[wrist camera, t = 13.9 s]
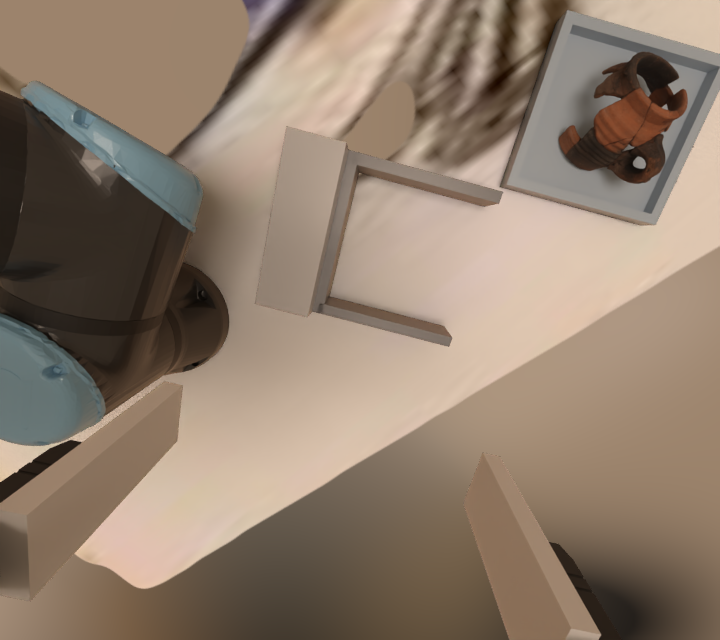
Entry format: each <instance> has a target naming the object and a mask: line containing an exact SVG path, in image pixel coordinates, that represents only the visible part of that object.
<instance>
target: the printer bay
mask: <svg viewBox="0 0 720 640" xmlns="http://www.w3.org/2000/svg"><path fill="white" fill-rule="evenodd" d="M359 173H362V174H366V175H370V176H373V177H377V178H381V179H384V180H388V181H392V182H396V183H399V184H403V185H407V186H410V187H414V188H418V189H421V190H425V191H429V192H432V193H436V194H440V195H443V196H447V197H451V198H454V199H458V200H462V201H466V202H469V203H473V204H477V205H480V206H484V207H485V206H490V205H494V204H499V202H500V199H501V197H502V194H503V192H502V191H498V190H494V189H491V188H487V187H483V186H480V185H476V184H472V183H469V182H465V181H461V180H458V179H454V178H450V177H447V176H443V175H439V174H436V173H432V172H428V171H425V170H421V169H417V168H414V167H410V166H406V165H403V164H399V163H395V162H392V161H388V160H384V159H380V158H377V157H373V156H369V155H366V154H362V153H359V152H355V151H351V150H349V149H348V146H347V143H346V142H343V141H339V140H335V139H332V138H328V137H324V136H321V135H317V134H313V133H310V132H306V131H302V130H299V129H295V128H291V127H288V126H286V132H285V137H284V143H283V149H282V154H281V160H280V165H279V171H278V177H277V182H276V188H275V194H274V199H273V205H272V210H271V216H270V222H269V227H268V233H267V239H266V244H265V250H264V255H263V261H262V267H261V272H260V278H259V284H258V289H257V295H256V300H255V304H257V305H261V306H265V307H269V308H273V309H277V310H280V311H284V312H288V313H292V314H296V315H300V316H304V317H308V316H309V315H310V314H311V312H312V311H313V312H317V313H321V314H325V315H329V316H332V317H336V318H340V319H344V320H348V321H352V322H356V323H359V324H363V325H367V326H371V327H375V328H379V329H383V330H386V331H390V332H394V333H398V334H402V335H406V336H410V337H413V338H417V339H421V340H425V341H429V342H433V343H437V344H440V345H444V346H448V347H449V346H450V343H451V340H452V337H451V335H450V334H449V332H448V331H447V330H446V328H445V327H444V326H441V325H437V324H433V323H429V322H426V321H422V320H418V319H414V318H410V317H406V316H403V315H399V314H395V313H391V312H387V311H383V310H380V309H376V308H372V307H368V306H364V305H361V304H357V303H353V302H349V301H345V300H341V299H338V298H334V297H330V293H331V288H332V284H333V280H334V276H335V271H336V267H337V263H338V259H339V255H340V250H341V246H342V242H343V238H344V234H345V229H346V225H347V221H348V217H349V212H350V208H351V204H352V200H353V196H354V191H355V187H356V183H357V179H358V175H359Z"/></svg>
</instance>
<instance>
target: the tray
mask: <svg viewBox="0 0 720 640" xmlns="http://www.w3.org/2000/svg"><path fill="white" fill-rule="evenodd" d="M639 52H650V53H653V54H655V55H658V56H660V57H662V58H663V59H665V60H666V61H668V62H669V63H670V64H671V65H672V66H673V68H674V69H675V70H676V71H677V73H678V75H679V79H677V80H675V81H674V82H672V83H670V84H668V86H669V87H670V89H671V90H672V92H673V94H676V93H677V92H678V91H680V90H681V89H685V90H686V92H687V97H688V104H687V109H686V111H685V112H684V114H683V115H682V116H681V117H679V118H678V119H675V120H674V121H673V122H672V124H671V126H670V127H669V129H668V130H667V132H664V131H663V132H662V133H661V134H663V135H664V138H663V141H662V144H663V148H664V151H665V164H664V166H663V168H662V170H661V171H660V173H659V174H658V175H656V176H654V177H652V178H651V180H650V181H648V182H646V183H641V184H633V183H628V182H626V181H624V180H622V179H620V178H619V177H618V176H616V175H615V173H614V172H613V171H611V170H608V169H607V167H603V168H599V169H595V170H592V171H588V170H584V169H580V168H578V167H576V166H575V165H574V164H572V163H571V161H570V160H569V159H568V158H567V157H566V155H565V154H564V152H563V151H562V149H561V146H560V144H559V137H560V136H561V135H562V134H563V133H564V132H565V131H566V129H567V128H568V127H569V126H571V125H574V126H575V128H576V131H577V133H578V135H579V136H580V138H581V139H582V138H583V137H584V136H585V135H586V134H587V133H588V131H589V130H590V129H591V128H593V127H594V118H595V116H596V114H597V113H598V112H599V111H600V110H601V109H603V108H605V107H607V106H609V105H611V104H613V103H615V102H616V101H619V100H621V98H617V97H615V96H605V95H604V96H602V97H600V98H597V99H595V98H594V93H595V89H596V87H597V86H598V85H600V84H601V83H603V82H604V80H605V79H606V78H607V77H608V76H610V75H611V74H612V73H608V74H605V75H603V74H602V72H603V71H604V70H606V69H608V68H609V67H611V66H614V65H617V64H620V63H623V62H629V61H630V60H631V58H632V57H633V56H634V55H636V54H637V53H639ZM637 78H638V81H639V84H640V87H641V88H642V89H643V91H644V93H645V94H646V95H647V96H648V97H649V95H650V94H651V93H650V91H649V89H648V87H647V84H646V82H645V80H644V79H643V77H641V76H640V75H638V74H637ZM719 90H720V54H718V53H714V52H711V51H708V50H704V49H701V48H697V47H694V46H690V45H687V44H683V43H680V42H676V41H673V40H669V39H666V38H663V37H659V36H656V35H652V34H649V33H645V32H642V31H638V30H635V29H631V28H628V27H624V26H621V25H618V24H614V23H611V22H607V21H604V20H600V19H597V18H593V17H590V16H586V15H583V14H579V13H576V12H573V11H569V10H567V11H566V12H565V14H564V15H563V16H562V17H561V18H560V19H559V20H558V22H557V23H556V25H555V28H554V31H553V34H552V37H551V40H550V43H549V46H548V48H547V51H546V54H545V57H544V60H543V63H542V66H541V69H540V72H539V75H538V77H537V80H536V83H535V86H534V89H533V92H532V95H531V98H530V101H529V104H528V106H527V109H526V112H525V115H524V118H523V121H522V124H521V127H520V130H519V133H518V135H517V138H516V141H515V144H514V147H513V150H512V153H511V156H510V159H509V162H508V165H507V167H506V170H505V173H504V176H503V179H502V182H501V185H500V187H502V188H506V189H510V190H513V191H517V192H521V193H524V194H528V195H532V196H535V197H539V198H543V199H546V200H550V201H554V202H557V203H561V204H565V205H568V206H572V207H576V208H579V209H583V210H587V211H590V212H594V213H598V214H601V215H605V216H609V217H612V218H616V219H620V220H623V221H627V222H630V223H634V224H638V225H656V223H657V221H658V219H659V217H660V215H661V212H662V210H663V208H664V206H665V204H666V202H667V200H668V198H669V196H670V193H671V191H672V189H673V187H674V185H675V183H676V181H677V179H678V177H679V174H680V172H681V170H682V168H683V166H684V164H685V162H686V160H687V158H688V155H689V153H690V151H691V149H692V147H693V145H694V143H695V141H696V139H697V136H698V134H699V132H700V130H701V128H702V126H703V124H704V122H705V120H706V117H707V115H708V113H709V111H710V109H711V107H712V105H713V103H714V101H715V98H716V96H717V94H718V92H719ZM662 108H663V109H666V110H668V108H667V104H666V105H664V106H663V107H662ZM633 148H634V147H632V146H630V145H628V146H627V147H626V148H625V149H624V150H623V151H626V150H629V149H633ZM623 151H622V152H623ZM633 166H634V167H636V168H640V169H643V168H645V166H646V163H645V160H644V159H643V158H642V157H639V156H638V157H637V158H636V159H635V160H634V161H633Z"/></svg>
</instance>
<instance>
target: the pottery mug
mask: <svg viewBox="0 0 720 640" xmlns="http://www.w3.org/2000/svg"><path fill="white" fill-rule="evenodd" d="M608 73H612V74H611V75H610V76H608V77H607V78H606V79H605V80H604V82H603V83H601V84H600V85H598V86H597V87H596V89H595V93H594V98H595V99H597V98H600V97H602V96H604V95H605V96H615V97H617V98H621V100H619V101H616V102H615V103H613V104H611V105H609V106H607V107H605V108H603V109H601V110H600V111H599V112H598V113H597V114H596V116H595V118H594V127H593V128H591V129H590V130H589V131H588V133H587V134H586V135H585V136H584V137H583V138H582V139H581V138H580V136H579V135H578V133H577V131H576V128H575V126H574V125H571V126H569V127H568V128H567V129H566V131H565V132H564V133H563V134H562V135H561V136H560V137H559V144H560V146H561V149H562V151H563V152H564V154H565V155H566V157H567V158H568V159H569V160H570V161H571V163H572V164H574V165H575V166H576V167H578V168H580V169H584V170H588V171H592V170H595V169H599V168H603V167H607V169H608V170H611V171H613V172H614V173H615V175H616V176H618V177H619V178H620V179H622V180H624V181H626V182H628V183H633V184H641V183H646V182H648V181H650V180H651V178H652V177H654V176H656V175H658V174H659V173H660V171H661V170H662V168H663V166H664V164H665V151H664V148H663V144H662V141H663V138H664V135H663V134H661V133H662V132H663V131H664V132H667V130H668V129H669V127H670V126H671V124H672V122H673V121H674V120H675V119H678V118H679V117H681V116H682V115H683V114H684V112H685V111H686V109H687V104H688V97H687V92H686V90H685V89H681V90H680V91H678V92H677V93H676V94H673V92H672V90H671V89H670V87H669V86H668V84H670V83H672V82H674V81H675V80H677V79H679V75H678V73H677V71H676V70H675V69H674V68H673V66H672V65H671V64H670V63H669V62H668V61H666V60H665V59H663V58H662V57H660V56H658V55H655V54H653V53H650V52H639V53H637V54H636V55H634V56H633V57H632V58H631V60H630V61H629V62H623V63H620V64H617V65H614V66H611V67H609V68H608V69H606V70H604V71H603V72H602V74H603V75H605V74H608ZM637 74H638V75H640V76H641V77H643V79H644V80H645V82H646V84H647V87H648V89H649V91H650V93H651V94H650V95H649V97H648V96H647V95H646V94H645V93H644V91H643V89H642V88H641V87H640V84H639V81H638V78H637ZM666 104H667V108H668V110H666V109H663V108H662V107H663V106H664V105H666ZM628 145H630V146H632V147H634V148H633V149H629V150H626V151H623V150H624V149H625V148H626V147H627V146H628ZM622 151H623V152H622ZM638 156H639V157H642V158H643V159H644V160H645V163H646V166H645V168H643V169H640V168H636V167H634V166H633V161H634V160H635V159H636V158H637V157H638Z"/></svg>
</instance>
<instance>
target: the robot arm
mask: <svg viewBox="0 0 720 640" xmlns="http://www.w3.org/2000/svg"><path fill="white" fill-rule="evenodd" d="M21 95H22V96H23V97H24V99H20V98H17V97H14V96H12V95H10V94H7V93H5V92H3V91H0V439H1V440H4V441H7V442H11V443H15V444H20V445H28V446H44V445H49V444H51V443H58V442H61V441H64V440H66V439H68V438H70V437H72V436H74V435H76V434H77V433H79V432H81V431H83V430H85V429H87V428H88V427H91V426H94V425H95V424H97V423H98V422H100V421H101V419H103V417H104V416H105V415H107V414H108V413H110V412H111V411H113V410H114V409H115V408H117V407H118V406H120V405H121V404H123V403H124V402H126V401H127V400H128V399H130V398H131V397H133V396H134V395H136V394H137V393H139V392H140V391H141V390H143V389H144V388H146V387H147V386H149V385H150V384H151V383H153V382H154V381H156V380H157V379H159V378H160V377H161V376H163V375H168V374H174V373H179V372H185V371H189V370H192V369H194V368H197V367H199V366H200V365H202V364H204V363H205V362H206V361H208V360H209V359H210V358H212V357H213V356H214V355H215V354H216V353H217V352H218V351H219V350H220V348H221V347H222V345H223V343H224V341H225V339H226V336H227V333H228V326H229V317H228V310H227V306H226V303H225V301H224V298H223V296H222V294H221V293H220V291H219V289H218V288H217V287H216V285H215V284H214V283H213V282H212V281H211V280H210V279H209V278H208V277H207V276H206V275H205V274H204V273H202V272H201V271H199V270H198V269H196V268H194V267H192V266H190V265H188V264H185V263H183V260H184V257H185V254H186V252H187V249H188V246H189V243H190V240H191V237H192V234H193V233H195V232H196V226H195V223H196V220H197V216H198V213H199V209H200V205H201V202H202V198H203V188H202V185H201V183H200V181H199V179H198V178H197V176H196V175H195V174H194V173H193V172H192V171H190V170H189V169H187V168H186V167H184V166H183V165H181V164H179V163H178V162H176V161H174V160H173V159H171V158H170V157H168V156H166V155H165V154H163V153H161V152H160V151H158V150H156V149H154V148H153V147H151V146H149V145H148V144H146V143H144V142H143V141H141V140H139V139H137V138H136V137H134V136H132V135H131V134H129V133H127V132H126V131H124V130H122V129H121V128H119V127H117V126H116V125H114V124H112V123H110V122H109V121H107V120H105V119H104V118H102V117H100V116H98V115H97V114H95V113H93V112H92V111H90V110H88V109H87V108H85V107H83V106H81V105H79V104H78V103H76V102H74V101H72V100H70V99H69V98H67V97H65V96H64V95H62V94H60V93H58V92H57V91H55V90H53V89H52V88H50V87H48V86H46V85H44V84H43V83H41V82H38V81H31V82H29V84H28V85H27V86H26V87H24V88H22V89H21ZM182 388H183V385H178V384H174V383H169V382H163V383H162V384H161V385H159V386H158V387H157V388H155V389H154V390H153V391H151V392H150V393H148V394H147V395H146V396H144V397H143V398H142V399H140V400H139V401H138V402H136V403H135V404H134V405H132V406H131V407H130V408H128V409H127V410H126V411H124V412H123V413H121V414H120V415H119V416H117V417H116V418H115V419H113V420H112V421H111V422H109V423H108V424H107V425H105V426H104V427H103V428H101V429H100V430H98V431H97V432H96V433H94V434H93V435H92V436H90V437H89V438H88V439H86V440H85V441H84V442H78V441H73V440H69V441H67V442H65V443H62V444H60V445H57V446H55V447H52V448H50V449H48V450H47V451H46V452H44V453H43V454H41V455H40V456H38V457H37V458H35V459H34V460H33V461H32V463H30V462H29V463H28V464H27V465H25V466H24V467H22V468H21V469H19V471H18V472H17V473H13V474H12V475H10V476H9V477H8V478H6V479H5V480H3V481H2V482H0V596H5V597H10V598H15V599H20V600H25V601H31V600H32V599H33V598H34V597H35V596H36V595H37V594H38V593H39V592H40V590H41V589H42V588H43V587H44V586H45V585H46V584H47V583H48V582H49V580H50V579H51V578H52V577H53V576H54V575H55V574H56V573H57V572H58V571H59V570H60V568H61V567H62V566H63V565H64V564H65V563H66V562H67V561H68V560H69V559H70V558H71V557H72V555H73V554H74V553H75V552H76V551H77V550H78V549H79V548H80V547H81V546H82V544H83V543H84V542H85V541H86V540H87V539H88V538H89V537H90V536H91V535H92V534H93V532H94V531H95V530H96V529H97V528H98V527H99V526H100V525H101V524H102V523H103V521H104V520H105V519H106V518H107V517H108V516H109V515H110V514H111V513H112V512H113V511H114V509H115V508H116V507H117V506H118V505H119V504H120V503H121V502H122V501H123V500H124V499H125V497H126V496H127V495H128V494H129V493H130V492H131V491H132V490H133V489H134V488H135V486H136V485H137V484H138V483H139V482H140V481H141V480H142V479H143V478H144V477H145V476H146V474H147V473H148V472H149V471H150V470H151V469H152V468H153V467H154V466H155V465H156V463H157V462H158V461H159V460H160V459H161V458H162V457H163V456H164V455H165V454H166V453H167V451H168V450H169V449H170V448H171V447H172V446H173V445H174V444H175V443H176V442H177V438H178V428H179V418H180V408H181V398H182ZM463 504H464V507H465V510H466V513H467V516H468V518H469V522H470V525H471V528H472V531H473V534H474V537H475V539H476V542H477V545H478V548H479V551H480V554H481V557H482V560H483V563H484V566H485V569H486V572H487V575H488V578H489V581H490V584H491V587H492V590H493V592H494V596H495V599H496V601H497V604H498V607H499V610H500V613H501V616H502V619H503V622H504V625H505V628H506V631H507V634H508V637H509V640H622V639H621V637H620V635H619V634H618V632H617V631H616V629H615V627H614V626H613V624H612V622H611V621H610V619H609V617H608V616H607V614H606V613H605V611H604V609H603V608H602V606H601V604H600V603H599V601H598V600H597V598H596V596H595V595H594V594H593V593H592V590H591V588H590V586H589V585H588V583H587V582H586V580H585V579H583V575H582V574H581V572H580V570H579V569H578V567H577V565H576V564H575V562H574V560H573V559H572V558H571V557H570V556H569V555H568V554H567V553H566V552H565V550H564V549H563V548H562V547H561V546H560V545H559V544H556V543H551V542H548V540H547V538H546V537H545V535H544V533H543V531H542V530H541V528H540V526H539V524H538V523H537V521H536V519H535V517H534V516H533V514H532V512H531V510H530V508H529V507H528V505H527V503H526V501H525V500H524V498H523V496H522V494H521V493H520V491H519V489H518V487H517V486H516V484H515V482H514V480H513V479H512V477H511V475H510V473H509V472H508V470H507V468H506V466H505V465H504V463H503V461H502V460H501V458H500V456H497V455H492V454H488V453H482V456H481V458H480V461H479V464H478V466H477V469H476V471H475V474H474V477H473V479H472V481H471V484H470V487H469V489H468V492H467V495H466V497H465V500H464V502H463Z"/></svg>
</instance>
